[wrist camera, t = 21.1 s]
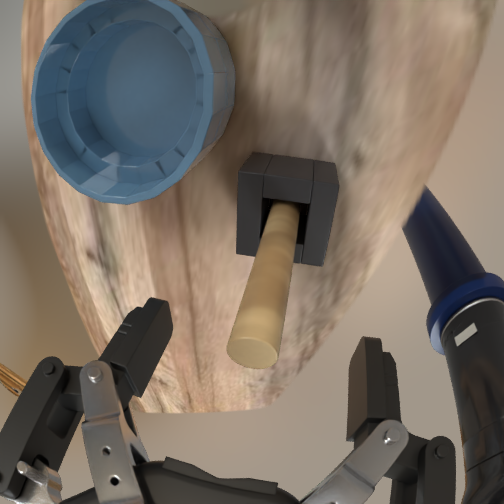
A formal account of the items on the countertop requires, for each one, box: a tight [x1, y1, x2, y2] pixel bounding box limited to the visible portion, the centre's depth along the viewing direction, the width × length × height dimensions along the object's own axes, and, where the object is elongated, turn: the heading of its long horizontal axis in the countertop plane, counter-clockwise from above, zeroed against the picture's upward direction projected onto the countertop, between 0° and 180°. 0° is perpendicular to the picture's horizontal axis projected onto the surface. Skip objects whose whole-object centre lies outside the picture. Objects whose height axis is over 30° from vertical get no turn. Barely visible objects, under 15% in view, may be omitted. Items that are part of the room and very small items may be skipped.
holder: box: [236, 152, 339, 267], centre depth 21 cm, size 6×6×4 cm
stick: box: [227, 199, 301, 369], centre depth 17 cm, size 2×2×15 cm
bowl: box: [31, 0, 235, 205], centre depth 18 cm, size 15×15×6 cm
